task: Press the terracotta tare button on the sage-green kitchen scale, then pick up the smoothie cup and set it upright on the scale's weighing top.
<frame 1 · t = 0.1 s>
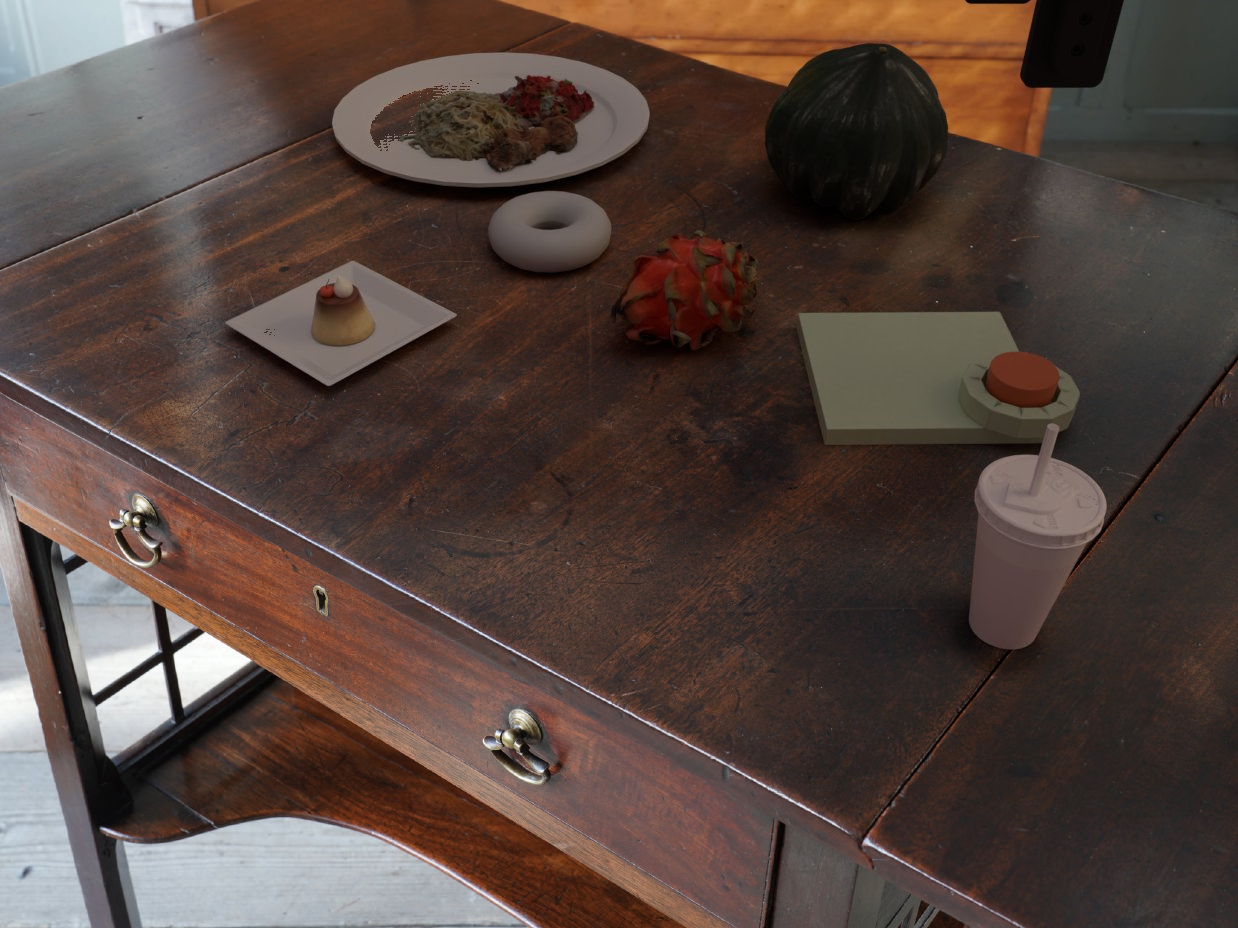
hand: (1025, 40, 53), 30 cm above the table, tool pointing down, fingers open, 9 cm apart
dessert: (344, 333, 90), on the table
plated food: (493, 132, 117), on the table
tare button: (1022, 379, 80), point 3 cm above the table, slide at 0.1 cm
smoothie: (1002, 626, 68), on the table
donut: (550, 251, 100), on the table
scale: (915, 382, 85), on the table
squash: (848, 198, 107), on the table
dragon fruit: (682, 338, 90), on the table
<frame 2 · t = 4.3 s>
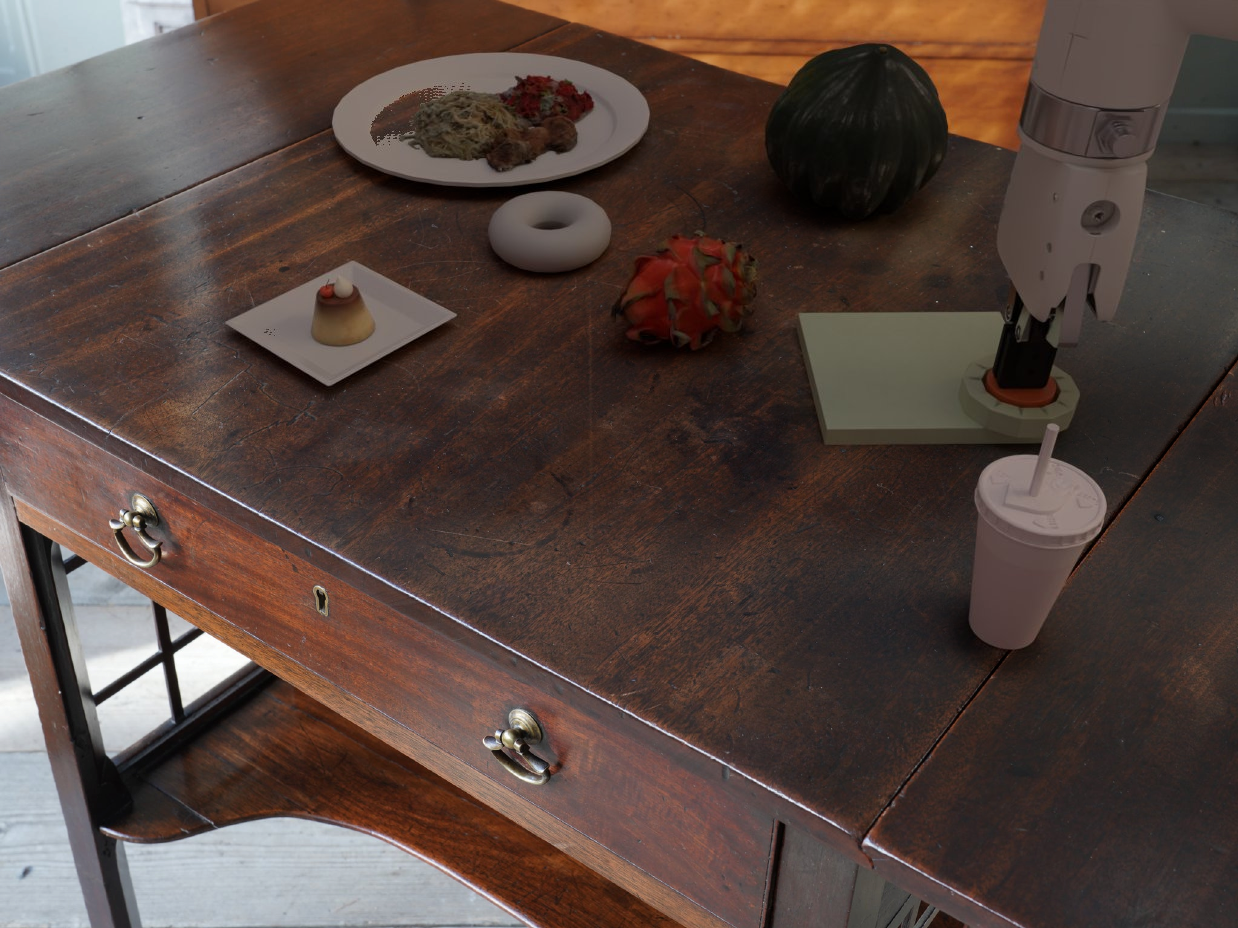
hand: (1018, 381, 80), 3 cm above the table, tool pointing down, fingers closed
tare button: (1019, 391, 80), point 2 cm above the table, slide at -0.8 cm, touching gripper
everything else where it was.
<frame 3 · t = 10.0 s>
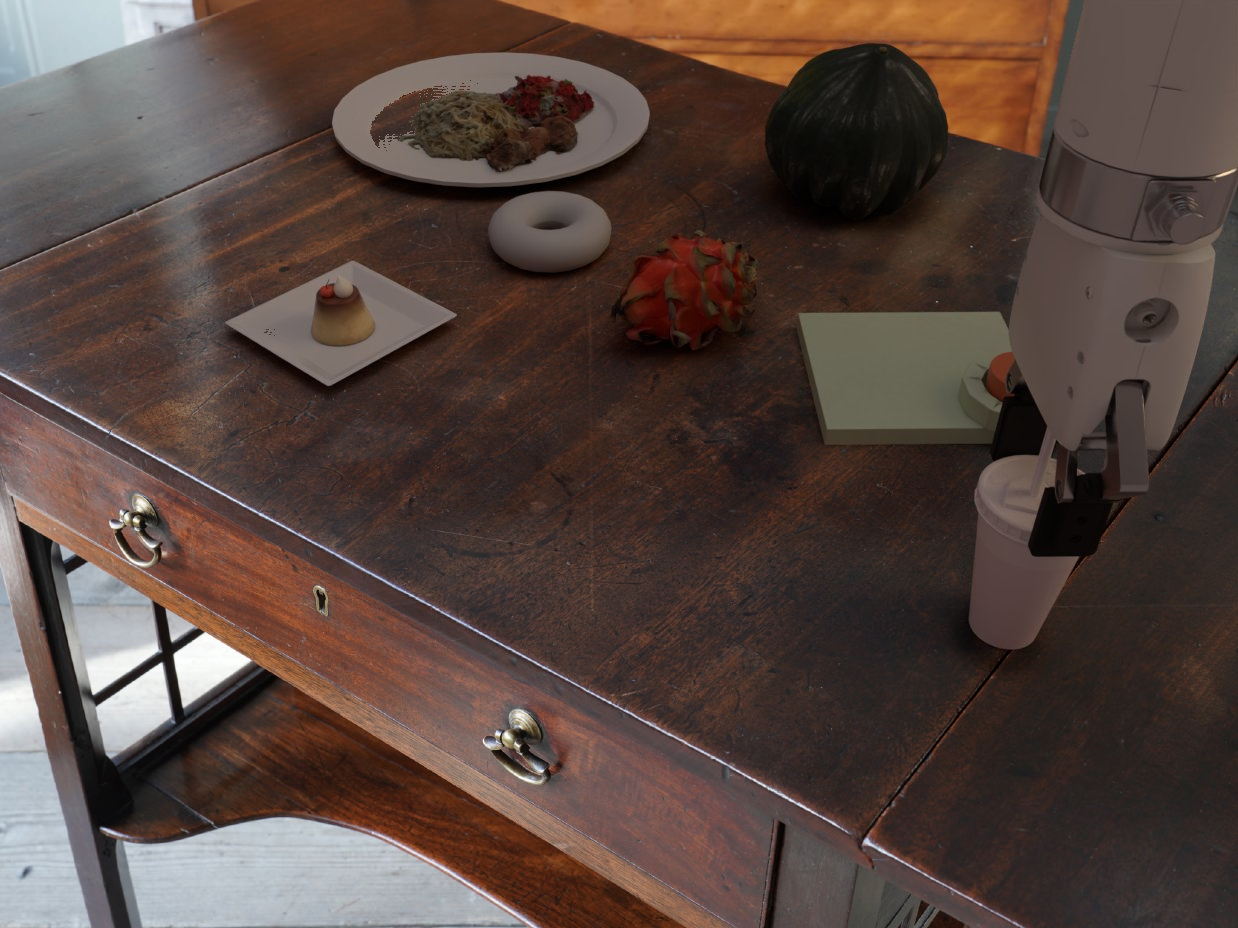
hand: (1039, 501, 62), 9 cm above the table, tool pointing down, fingers closed on smoothie, 6 cm apart
tare button: (1022, 379, 80), point 3 cm above the table, slide at 0.1 cm
smoothie: (1002, 626, 68), on the table, touching gripper
everything else where it was.
when the fingers open (10 cm above the table, at t = 18.2 s): smoothie stays where it is, resting on scale.
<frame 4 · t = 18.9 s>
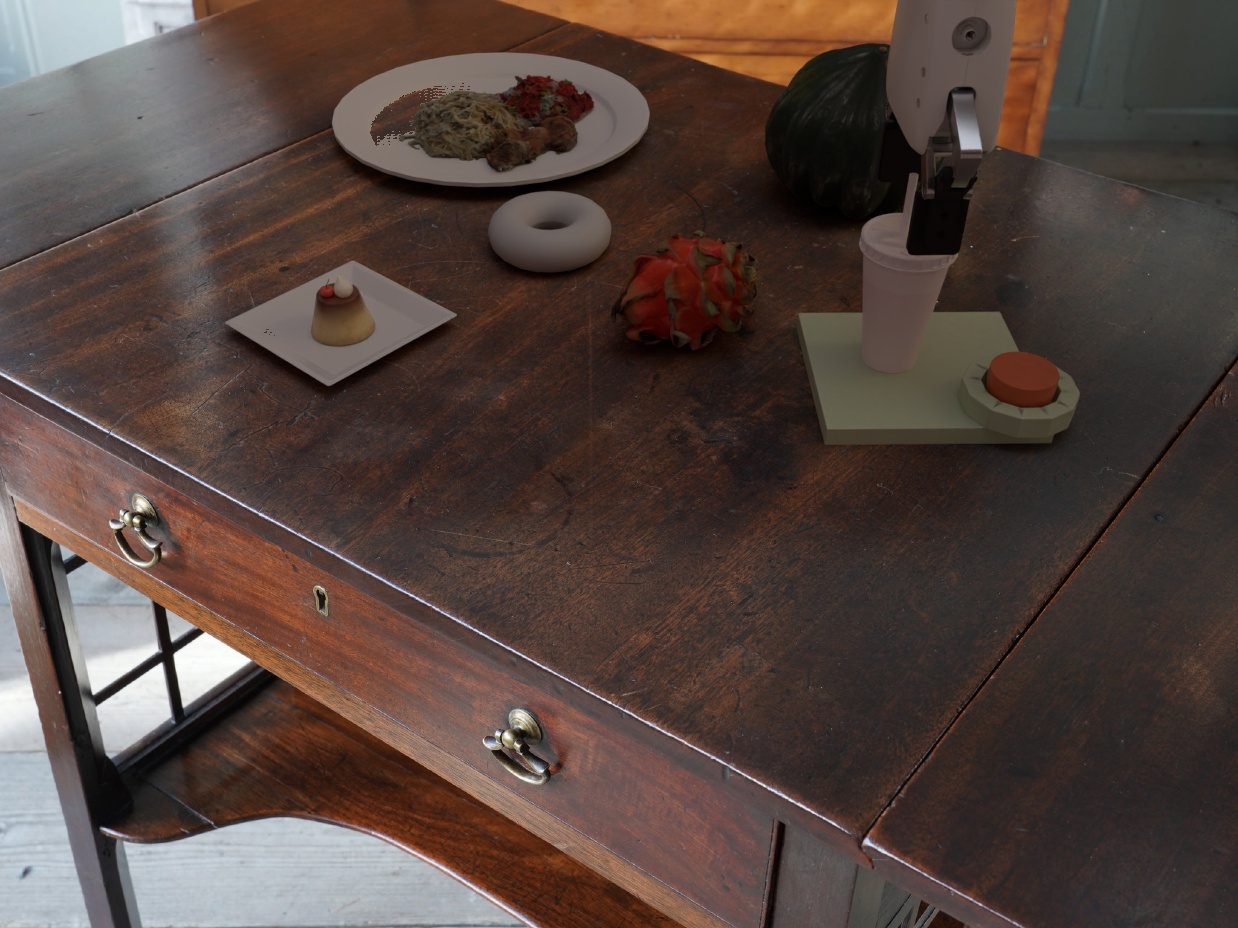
hand: (915, 214, 78), 13 cm above the table, tool pointing down, fingers open, 9 cm apart
smoothie: (887, 360, 85), point 1 cm above the table, touching scale
everything else where it was.
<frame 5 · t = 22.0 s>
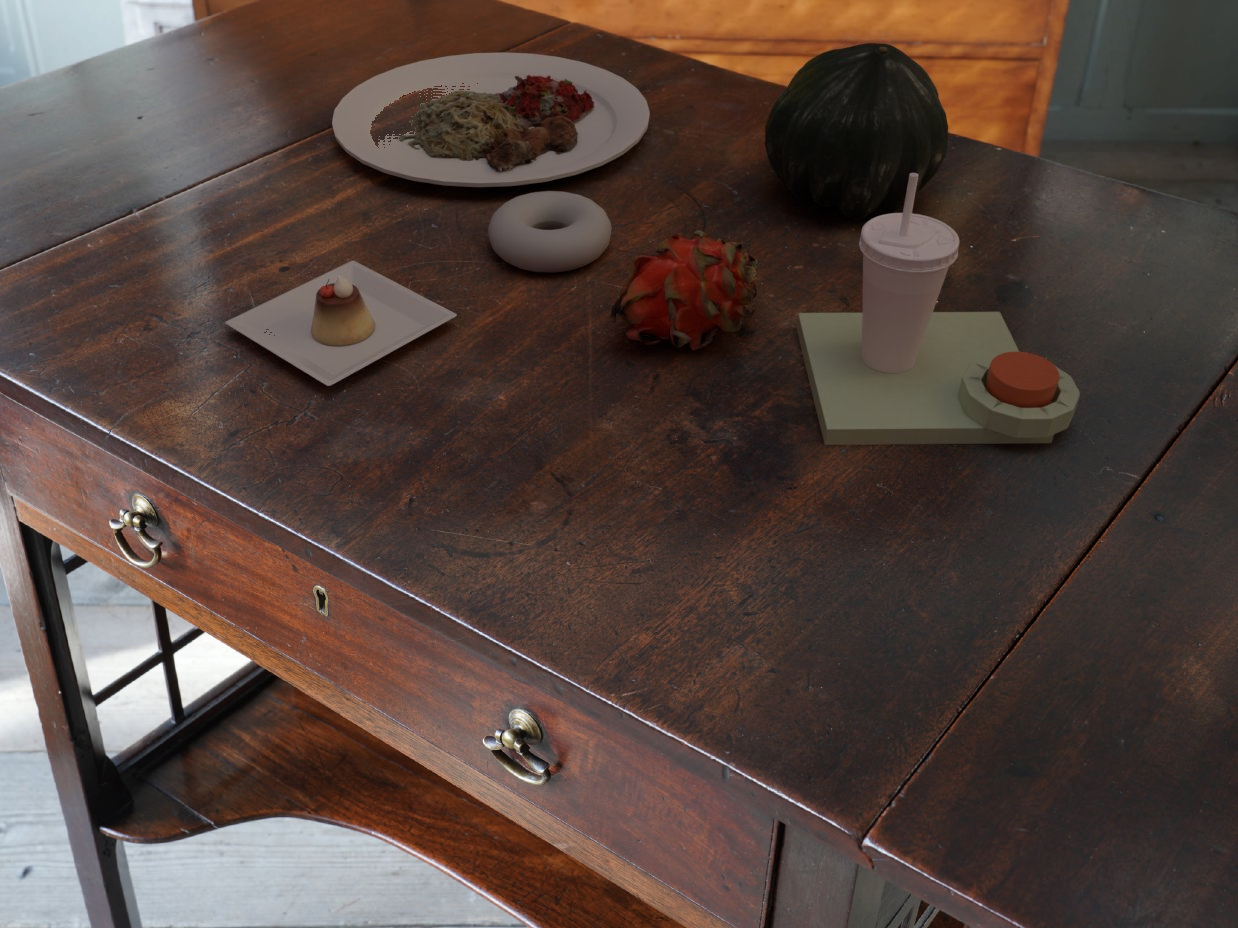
nothing on the table moved.
at the end: tare button pushed in 0.9 cm at the most during the clip, back to where it started at the end; smoothie inside the target area on the scale (0.4 cm from its centre), point 1.2 cm above the scale's base; smoothie tilted 0° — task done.
